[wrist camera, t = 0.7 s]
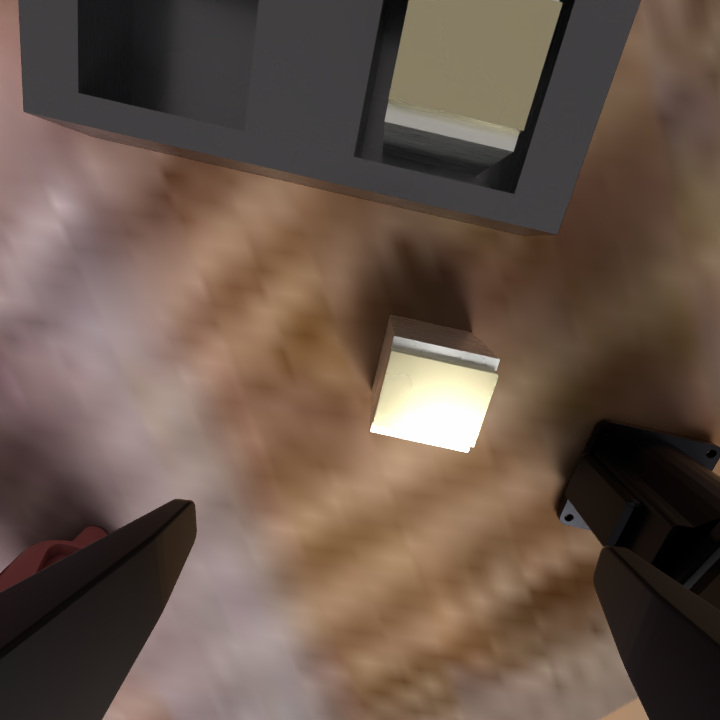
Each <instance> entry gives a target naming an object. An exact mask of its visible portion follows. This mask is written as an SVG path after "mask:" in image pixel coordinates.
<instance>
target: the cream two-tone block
mask: <svg viewBox="0 0 720 720" xmlns="http://www.w3.org/2000/svg"><path fill="white" fill-rule="evenodd" d="M499 361H500V359H499V358H498V357H497V356H496V355H495V354H494V353H493V352H492V351H491V350H490V349H489V348H488V347H487V346H486V345H485V344H484V343H483V342H482V341H481V340H479V339H478V338H477V337H476V336H475V335H474V334H473V333H472V332H468V331H463V330H459V329H454V328H450V327H445V326H441V325H437V324H432V323H428V322H423V321H419V320H414V319H410V318H405V317H401V316H396V315H392V314H390V317H389V321H388V326H387V330H386V334H385V338H384V342H383V346H382V350H381V354H380V358H379V363H378V367H377V371H376V375H375V379H374V383H373V387H372V395H371V422H370V432H374V433H379V434H384V435H388V436H393V437H398V438H402V439H407V440H412V441H416V442H421V443H425V444H430V445H435V446H439V447H444V448H449V449H453V450H458V451H463V452H467V453H468V451H469V448H470V447H474V445H475V442H476V439H477V437H478V434H479V431H480V428H481V425H482V422H483V419H484V417H485V414H486V411H487V408H488V405H489V402H490V399H491V396H492V394H493V391H494V388H495V385H496V382H497V379H498V376H499V374H498V373H497V372H496V370H497V367H498V364H499Z"/></svg>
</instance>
